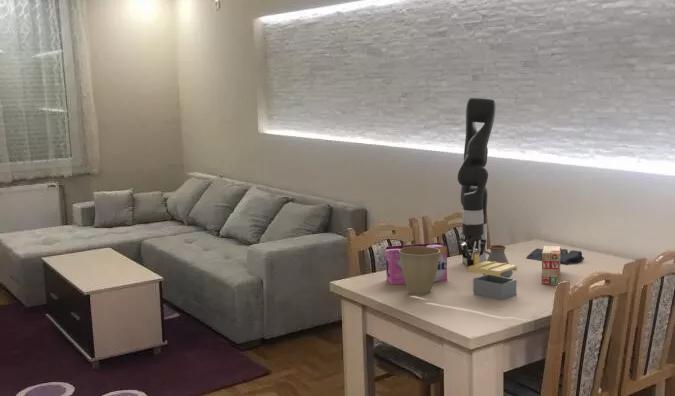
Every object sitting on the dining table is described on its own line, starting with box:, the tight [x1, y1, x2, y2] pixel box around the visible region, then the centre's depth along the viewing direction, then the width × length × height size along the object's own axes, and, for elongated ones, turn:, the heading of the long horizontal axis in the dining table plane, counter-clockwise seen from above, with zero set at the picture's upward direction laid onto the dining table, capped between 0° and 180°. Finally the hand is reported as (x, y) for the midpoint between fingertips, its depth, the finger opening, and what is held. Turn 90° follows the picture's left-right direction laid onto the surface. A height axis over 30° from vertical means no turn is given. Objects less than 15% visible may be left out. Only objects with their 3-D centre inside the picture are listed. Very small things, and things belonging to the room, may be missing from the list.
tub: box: [472, 275, 518, 301], centre depth 254 cm, size 12×9×6 cm
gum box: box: [384, 242, 448, 286], centre depth 277 cm, size 24×8×14 cm, turn 102°
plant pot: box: [399, 246, 440, 296], centre depth 259 cm, size 15×15×16 cm
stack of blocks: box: [541, 245, 561, 285], centre depth 276 cm, size 21×6×12 cm, turn 162°
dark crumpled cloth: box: [526, 247, 585, 266], centre depth 307 cm, size 15×22×5 cm
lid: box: [465, 253, 518, 276], centre depth 255 cm, size 17×11×5 cm, turn 43°
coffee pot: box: [458, 238, 514, 278], centre depth 278 cm, size 21×12×15 cm, turn 59°
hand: (473, 268), depth 260 cm, fingers closed on lid, 2 cm apart
